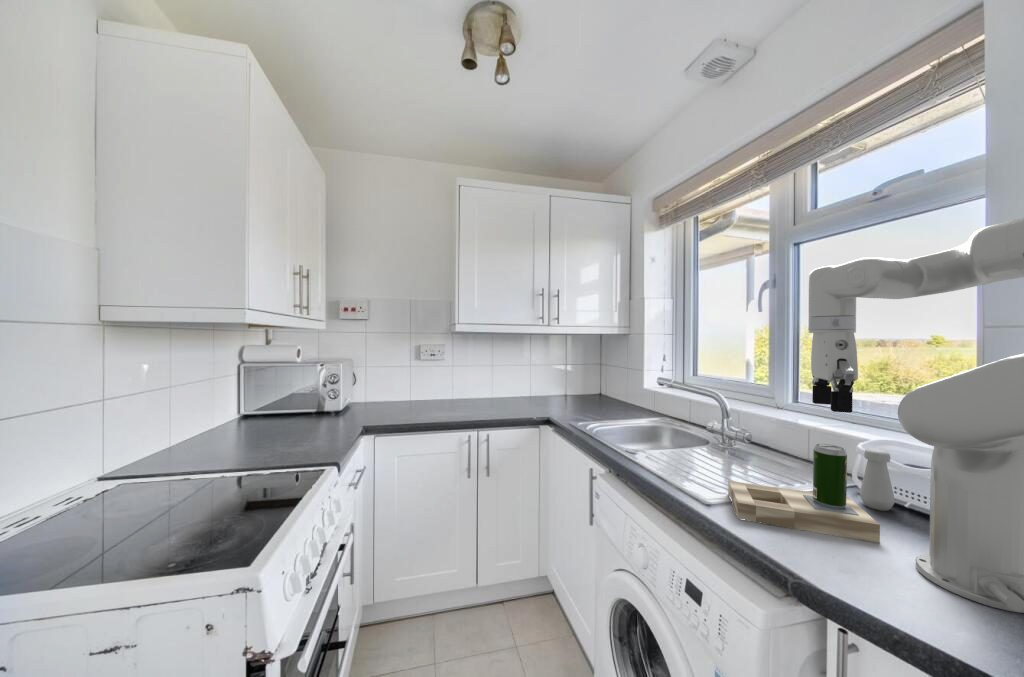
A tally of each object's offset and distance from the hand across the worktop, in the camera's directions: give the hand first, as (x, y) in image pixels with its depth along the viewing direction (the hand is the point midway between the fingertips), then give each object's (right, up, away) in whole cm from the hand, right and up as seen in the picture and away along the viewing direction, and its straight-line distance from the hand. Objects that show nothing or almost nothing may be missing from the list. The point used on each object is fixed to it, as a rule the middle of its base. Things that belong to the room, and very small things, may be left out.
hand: (831, 407), depth 77 cm
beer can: (0, -21, 0) cm, 21 cm away
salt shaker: (+17, -24, +7) cm, 30 cm away
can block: (-6, -24, +3) cm, 25 cm away
